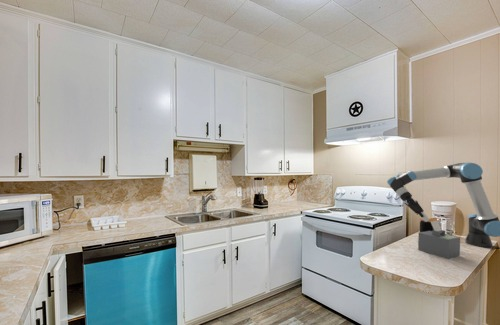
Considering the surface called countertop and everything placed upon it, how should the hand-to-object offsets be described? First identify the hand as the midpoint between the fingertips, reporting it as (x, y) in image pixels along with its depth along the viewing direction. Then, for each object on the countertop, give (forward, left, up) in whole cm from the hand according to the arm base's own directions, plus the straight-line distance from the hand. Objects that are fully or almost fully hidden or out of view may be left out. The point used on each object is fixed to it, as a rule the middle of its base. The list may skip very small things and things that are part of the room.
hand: (427, 220), depth 171 cm
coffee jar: (-17, -8, -20) cm, 28 cm away
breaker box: (0, +7, -20) cm, 21 cm away
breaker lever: (0, +8, -7) cm, 11 cm away
